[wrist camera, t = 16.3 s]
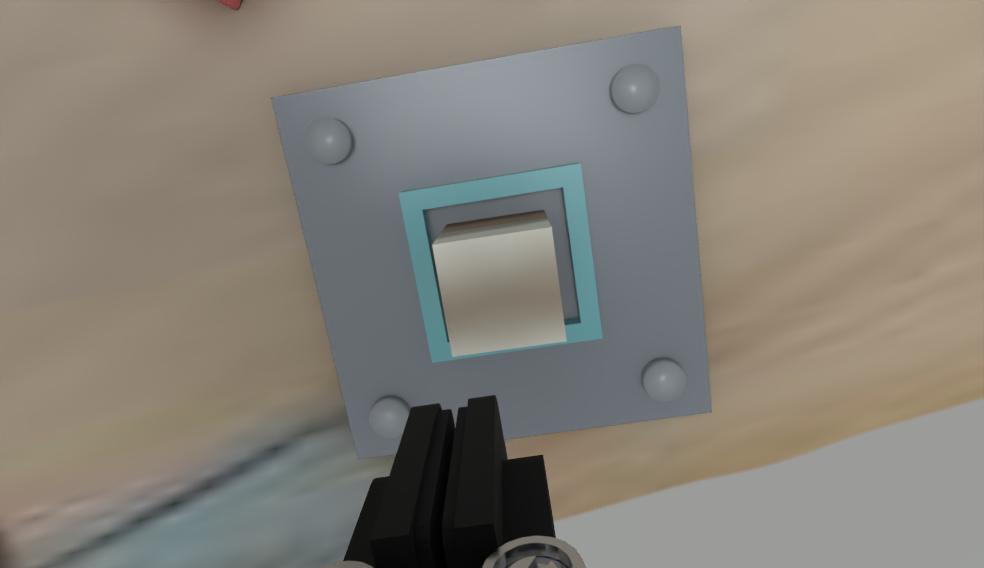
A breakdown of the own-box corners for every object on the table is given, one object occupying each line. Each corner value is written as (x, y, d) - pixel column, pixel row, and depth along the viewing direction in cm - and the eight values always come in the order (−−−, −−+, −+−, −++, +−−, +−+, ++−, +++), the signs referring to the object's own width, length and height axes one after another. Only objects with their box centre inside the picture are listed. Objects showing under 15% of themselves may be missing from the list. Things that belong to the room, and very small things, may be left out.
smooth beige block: (447, 224, 30) (432, 244, 25) (543, 209, 30) (551, 226, 24) (462, 316, 32) (452, 356, 26) (556, 303, 31) (566, 341, 25)
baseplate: (278, 99, 30) (262, 96, 28) (674, 29, 29) (686, 21, 27) (362, 450, 35) (353, 468, 33) (705, 404, 33) (718, 420, 31)
